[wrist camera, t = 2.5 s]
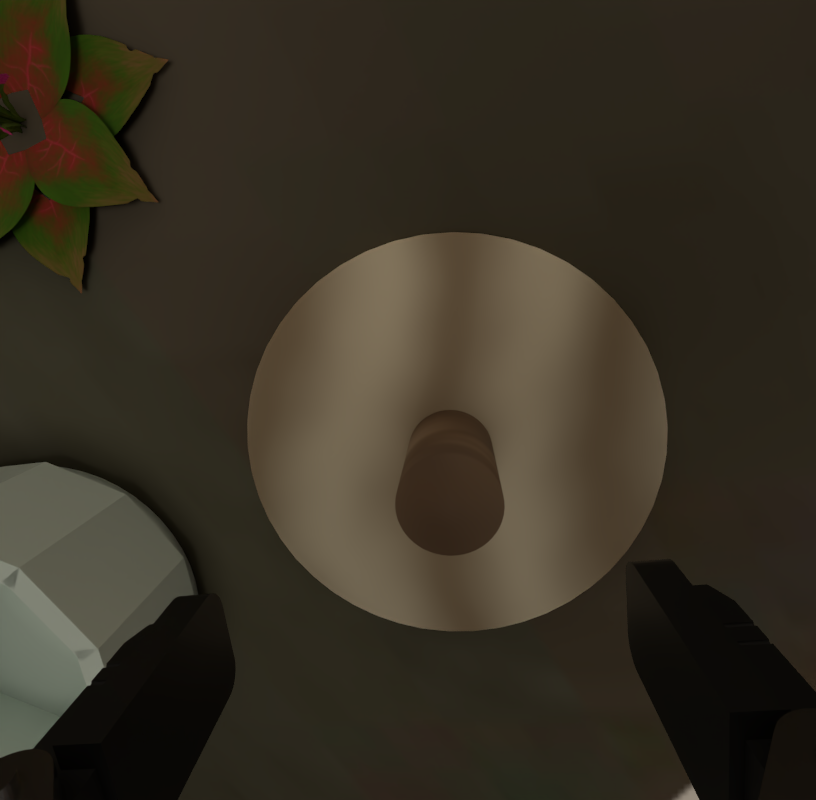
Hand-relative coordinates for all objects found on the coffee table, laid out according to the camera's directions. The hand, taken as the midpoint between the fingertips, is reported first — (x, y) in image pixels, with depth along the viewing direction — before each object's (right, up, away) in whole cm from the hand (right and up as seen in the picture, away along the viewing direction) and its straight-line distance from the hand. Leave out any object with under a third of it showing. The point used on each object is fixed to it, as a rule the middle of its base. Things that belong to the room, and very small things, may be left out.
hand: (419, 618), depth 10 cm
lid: (+1, +3, +11) cm, 11 cm away
